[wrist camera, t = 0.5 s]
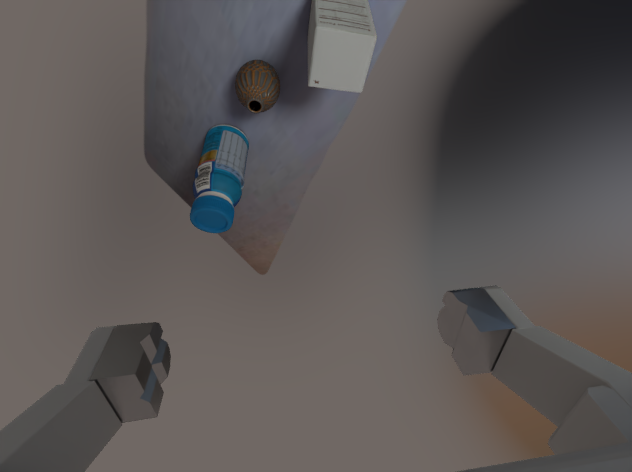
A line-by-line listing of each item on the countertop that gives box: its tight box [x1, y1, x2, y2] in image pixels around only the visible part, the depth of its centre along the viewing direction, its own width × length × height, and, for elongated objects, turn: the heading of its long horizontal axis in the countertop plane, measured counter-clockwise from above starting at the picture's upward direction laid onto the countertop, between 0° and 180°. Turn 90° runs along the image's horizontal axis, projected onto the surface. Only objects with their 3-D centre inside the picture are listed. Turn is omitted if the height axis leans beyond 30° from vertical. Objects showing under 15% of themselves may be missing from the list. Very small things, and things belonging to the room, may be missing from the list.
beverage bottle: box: [190, 125, 249, 233], centre depth 59 cm, size 8×8×20 cm
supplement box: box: [308, 0, 377, 93], centre depth 44 cm, size 7×7×13 cm
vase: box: [235, 60, 280, 113], centre depth 52 cm, size 7×7×9 cm
